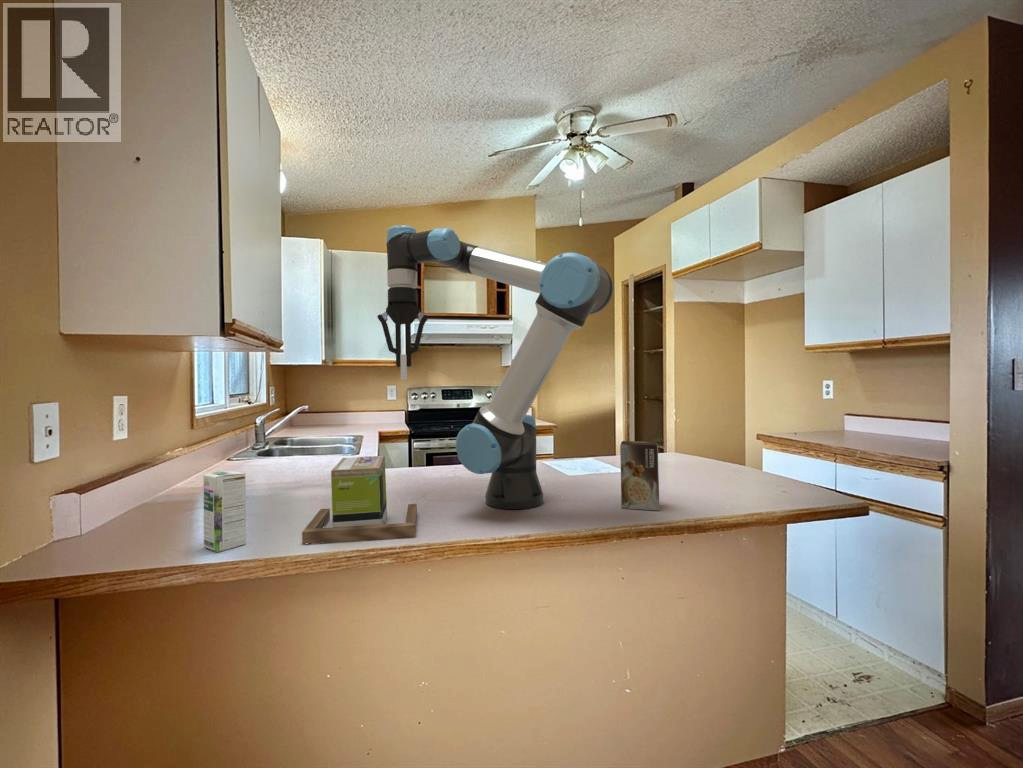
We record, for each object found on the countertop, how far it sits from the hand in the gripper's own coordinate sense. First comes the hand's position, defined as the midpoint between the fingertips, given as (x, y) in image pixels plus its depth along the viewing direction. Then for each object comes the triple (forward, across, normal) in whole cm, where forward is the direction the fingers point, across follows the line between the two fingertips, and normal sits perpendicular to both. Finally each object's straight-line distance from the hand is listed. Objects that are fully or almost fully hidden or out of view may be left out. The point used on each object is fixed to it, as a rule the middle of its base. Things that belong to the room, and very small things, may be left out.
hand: (403, 379), depth 128 cm
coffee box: (+33, -58, +15) cm, 68 cm away
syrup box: (+33, +34, +25) cm, 53 cm away
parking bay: (+32, +8, +18) cm, 38 cm away
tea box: (+33, +9, +18) cm, 38 cm away
